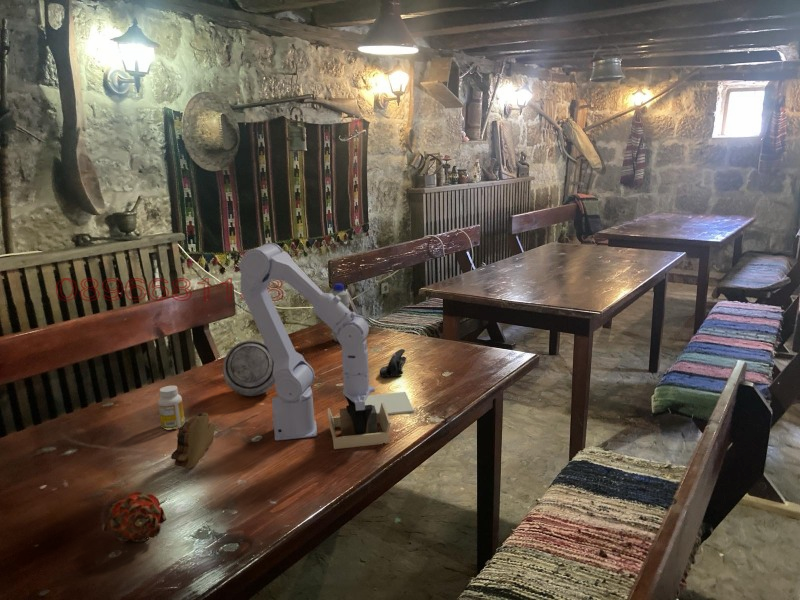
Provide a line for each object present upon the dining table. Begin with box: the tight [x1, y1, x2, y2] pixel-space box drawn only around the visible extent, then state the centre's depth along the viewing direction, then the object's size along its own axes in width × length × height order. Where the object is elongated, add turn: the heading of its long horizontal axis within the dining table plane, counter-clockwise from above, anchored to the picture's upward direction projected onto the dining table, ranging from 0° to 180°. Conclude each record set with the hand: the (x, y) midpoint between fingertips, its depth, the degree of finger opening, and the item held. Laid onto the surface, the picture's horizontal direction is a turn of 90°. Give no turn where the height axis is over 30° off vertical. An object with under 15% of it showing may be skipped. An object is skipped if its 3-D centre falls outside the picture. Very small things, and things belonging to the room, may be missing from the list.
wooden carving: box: [170, 412, 216, 469], centre depth 128 cm, size 16×5×10 cm, turn 178°
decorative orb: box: [222, 339, 275, 397], centre depth 163 cm, size 15×14×15 cm
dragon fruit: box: [101, 490, 167, 543], centre depth 104 cm, size 8×8×12 cm
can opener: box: [379, 348, 407, 377], centre depth 179 cm, size 18×7×6 cm, turn 166°
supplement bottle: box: [157, 385, 186, 428], centre depth 145 cm, size 5×5×10 cm
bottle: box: [331, 282, 350, 342], centre depth 205 cm, size 7×7×20 cm
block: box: [339, 405, 378, 437], centre depth 138 cm, size 8×4×6 cm, turn 100°
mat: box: [365, 391, 415, 416], centre depth 154 cm, size 12×12×1 cm
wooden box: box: [326, 403, 392, 450], centre depth 138 cm, size 13×11×5 cm
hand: (358, 426), depth 138 cm, fingers open, 7 cm apart
